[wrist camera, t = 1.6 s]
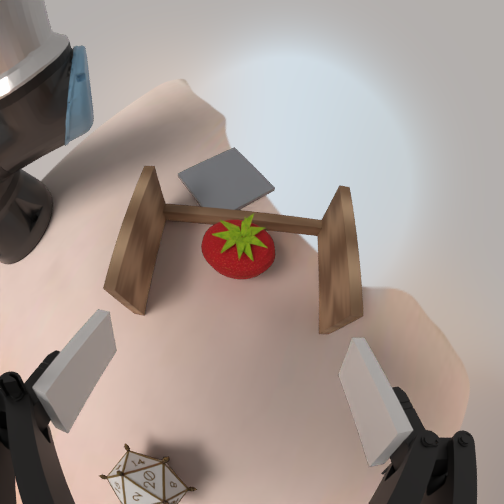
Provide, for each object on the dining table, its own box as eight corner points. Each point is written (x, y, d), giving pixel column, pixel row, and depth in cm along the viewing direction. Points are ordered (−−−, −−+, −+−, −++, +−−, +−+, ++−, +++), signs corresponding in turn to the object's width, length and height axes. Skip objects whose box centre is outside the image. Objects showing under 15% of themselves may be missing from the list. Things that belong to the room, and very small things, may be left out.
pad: (178, 176, 38) (177, 173, 37) (234, 150, 41) (234, 147, 41) (214, 223, 35) (213, 221, 34) (274, 190, 38) (274, 187, 38)
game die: (150, 454, 24) (100, 420, 19) (213, 470, 22) (171, 443, 17) (130, 510, 17) (70, 489, 12) (196, 534, 15) (142, 530, 10)
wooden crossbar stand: (328, 334, 30) (363, 315, 22) (134, 313, 29) (103, 288, 21) (325, 229, 36) (349, 187, 28) (159, 211, 35) (144, 165, 27)
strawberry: (212, 241, 34) (207, 190, 25) (272, 254, 34) (287, 206, 25) (199, 285, 31) (187, 244, 22) (263, 299, 31) (278, 264, 22)
